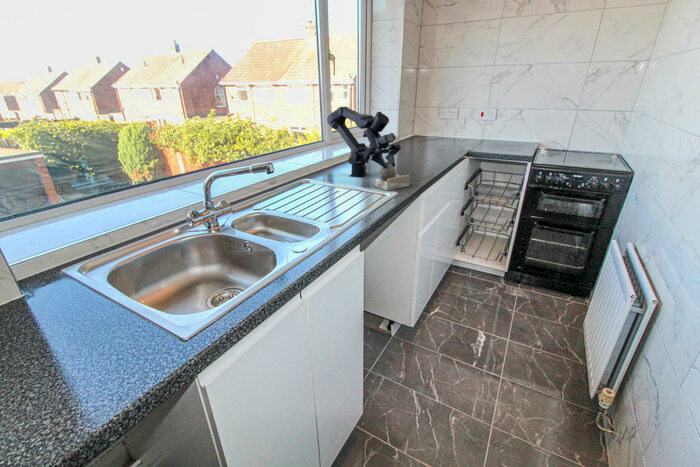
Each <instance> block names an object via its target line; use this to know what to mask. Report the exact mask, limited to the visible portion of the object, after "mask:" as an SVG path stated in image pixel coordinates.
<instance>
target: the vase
mask: <svg viewBox="0 0 700 467" xmlns="http://www.w3.org/2000/svg"><path fill="white" fill-rule="evenodd" d="M385 163H386V165H387V168H386V169H385V168H384V167H382V166H381V169H380V172H379V174H380V180H382V181H385V182H387V179H389V178H394V177H396V175H397V172H396V168H395V167H393V165H392V164H391V162H389V161H385Z"/></svg>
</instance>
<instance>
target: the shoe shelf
mask: <svg viewBox="0 0 700 467" xmlns="http://www.w3.org/2000/svg"><path fill="white" fill-rule="evenodd" d="M374 185H375V187H376V188H379V189H381V190H384V191H388V192H389V191H393V190H397V189H402V188H406V187H410V186H411V174H405V175H400V174H396V177H394V178H389V179H387V182H385V181H383V180H382V179H379V178H375V184H374Z"/></svg>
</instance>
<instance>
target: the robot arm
mask: <svg viewBox="0 0 700 467" xmlns="http://www.w3.org/2000/svg"><path fill="white" fill-rule="evenodd" d="M347 119H348V120H350V121H351V122H353V123H355V126H357V127H358V128H359V130H363V134H362V138H367V140H368V142H369V147H368V146H367V145H366V143H364V142H362V143H361V142H360V143H359V141H358V140H357V138H356V137H355V135H354V134H353V132H351V130H350V129H349V127H348V126H347V125H346V121H347ZM326 121H327V124H328V125H329V127H330V128H332V129H333V130H335V131H337V132H338V134H339V135H340V137H341V138H342V139H343V140H344V142H345V144H346V145H347V146H348V148H349V149H350V156H349V158H348V159H347V160H348V164H349V165H351V174H350V177H355V178H356V177H357V178H364V177H365V176H366V175H367V165H366V164H368V163H369V160H370V161H373V162H375V163H376V164H378V165H379V166H381V168H382V167H384V168H385V169H386V168H387V165H386V161H387V162H391V164H392V165H393V167H394V168H395V167H396V160H395V156H396V155H397V154H398V152H400V150H402V146H401V145H400V143H394V142H395V140H396V135H395V133H394V132H390V133H387V134H384V135H381V134H380V133H382V132H383V131H384V129H385V128H386V126H387V125H388V124H389V123H390V118H389V117H388V115H386V114H384V113H382V111H377V112H376V113H375V115H373V114H372V115H371V114H365V113H360V112H358V111H355V110H354V109H352V108H349V107H348V106H339V107H337V109H336V110H334V111H332V112H331V113H330V114H328V116H327V118H326ZM365 129H366V130H365ZM390 143H394V144H390ZM383 154H385V157H384V156H383ZM384 158H385V159H386V161H385V159H384Z"/></svg>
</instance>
